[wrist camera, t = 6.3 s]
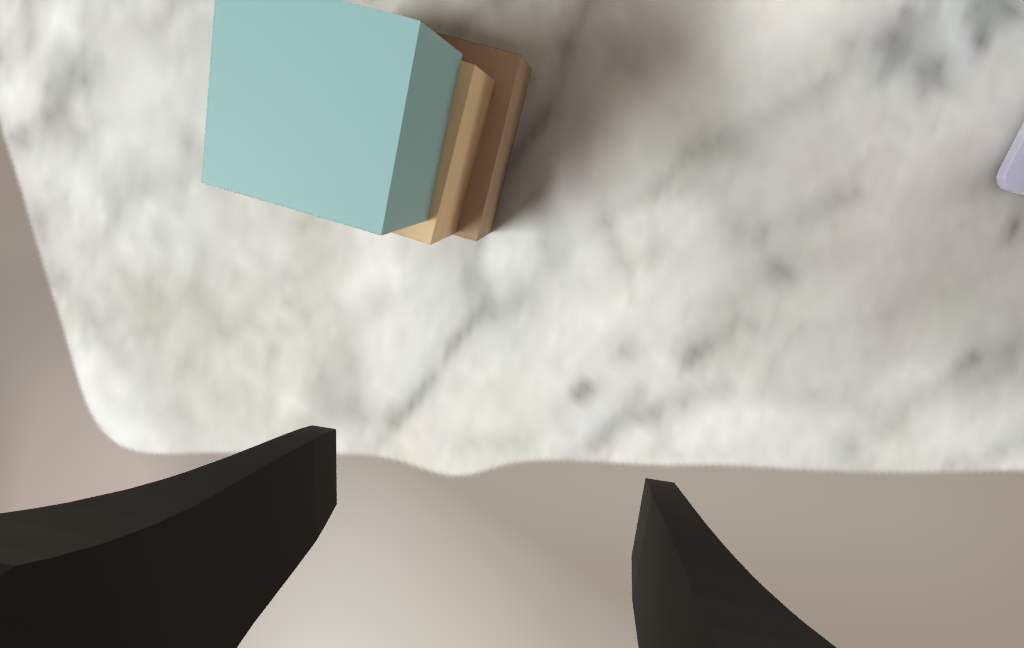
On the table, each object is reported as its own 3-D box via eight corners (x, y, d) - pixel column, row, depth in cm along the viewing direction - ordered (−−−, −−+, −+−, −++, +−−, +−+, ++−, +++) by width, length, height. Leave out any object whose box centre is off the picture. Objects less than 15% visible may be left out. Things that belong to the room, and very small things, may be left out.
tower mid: (495, 81, 17) (474, 64, 14) (455, 232, 19) (430, 244, 16) (349, 36, 18) (301, 11, 15) (322, 189, 19) (273, 193, 16)
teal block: (462, 54, 14) (420, 20, 11) (427, 220, 16) (381, 235, 12) (304, 12, 15) (217, -33, 11) (284, 179, 16) (201, 182, 13)
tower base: (532, 71, 20) (521, 55, 17) (492, 231, 22) (476, 241, 19) (377, 30, 20) (341, 7, 17) (351, 190, 22) (314, 193, 19)
